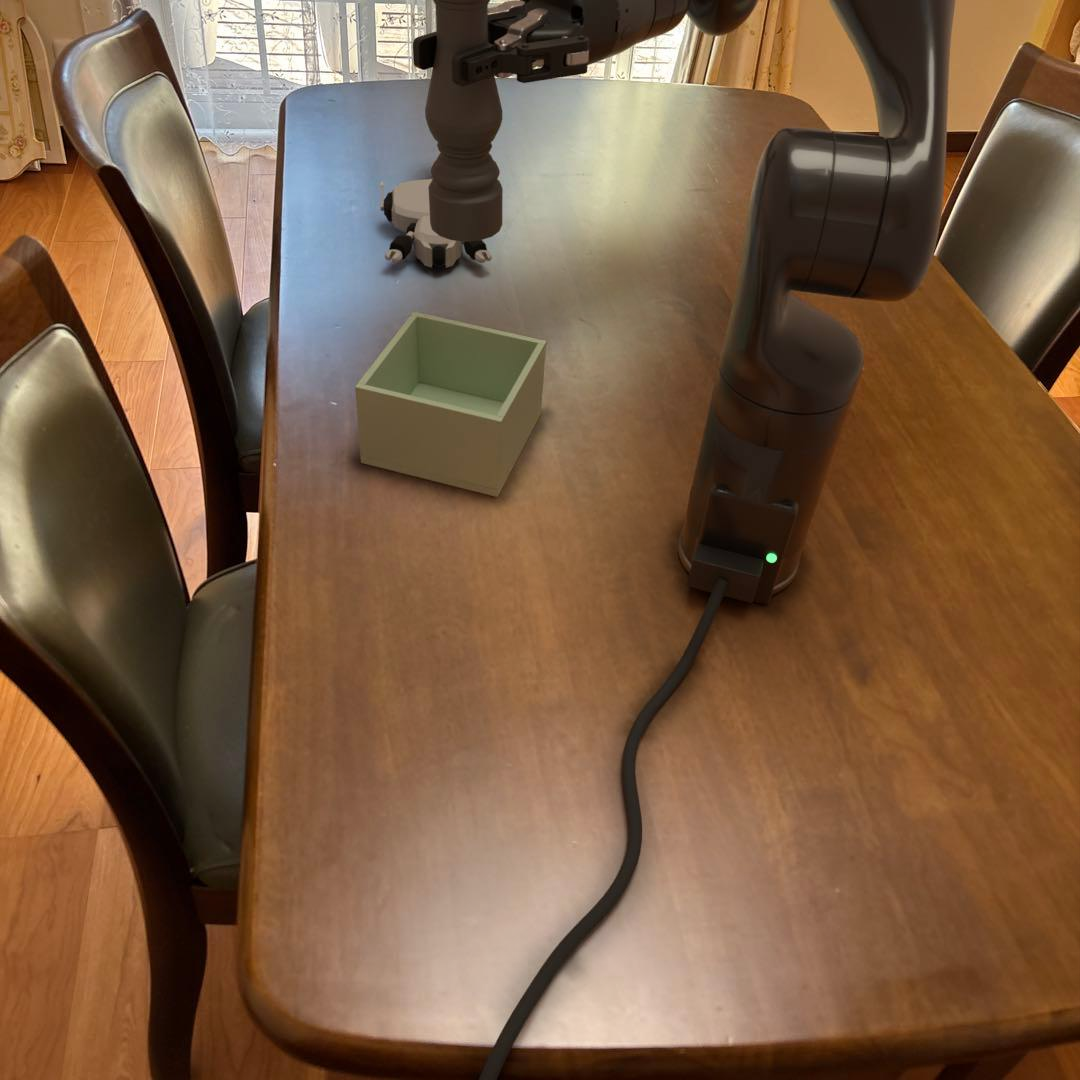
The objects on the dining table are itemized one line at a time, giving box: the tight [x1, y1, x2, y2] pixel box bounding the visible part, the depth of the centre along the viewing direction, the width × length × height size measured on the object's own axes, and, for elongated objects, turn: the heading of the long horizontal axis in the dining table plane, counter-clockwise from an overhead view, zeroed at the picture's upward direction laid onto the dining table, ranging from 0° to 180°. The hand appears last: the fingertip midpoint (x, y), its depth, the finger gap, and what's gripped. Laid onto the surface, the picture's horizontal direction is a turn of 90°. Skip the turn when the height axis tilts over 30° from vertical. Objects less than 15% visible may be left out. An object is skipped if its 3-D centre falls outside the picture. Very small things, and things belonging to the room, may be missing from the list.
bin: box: [354, 311, 547, 498], centre depth 87 cm, size 12×12×8 cm
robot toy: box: [379, 178, 493, 268], centre depth 113 cm, size 12×4×15 cm
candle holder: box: [424, 0, 504, 243], centre depth 79 cm, size 6×6×25 cm
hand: (436, 62), depth 76 cm, fingers closed on candle holder, 3 cm apart
